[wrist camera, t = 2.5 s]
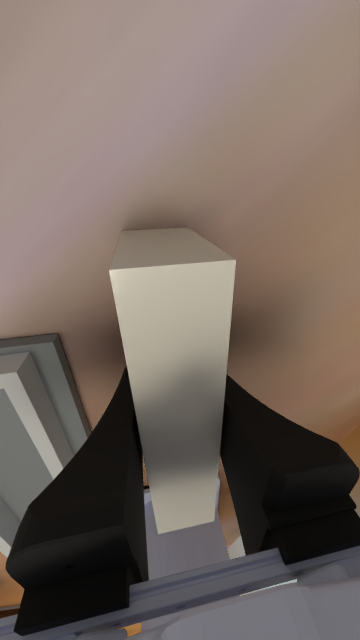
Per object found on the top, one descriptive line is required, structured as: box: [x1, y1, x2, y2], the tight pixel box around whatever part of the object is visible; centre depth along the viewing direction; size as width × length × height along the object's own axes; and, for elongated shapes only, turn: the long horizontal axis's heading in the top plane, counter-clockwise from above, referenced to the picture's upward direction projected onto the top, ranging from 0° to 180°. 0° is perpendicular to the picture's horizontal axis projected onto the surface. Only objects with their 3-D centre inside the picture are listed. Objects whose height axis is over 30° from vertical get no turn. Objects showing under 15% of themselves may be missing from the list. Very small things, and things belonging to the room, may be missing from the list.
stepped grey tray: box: [0, 334, 91, 558], centre depth 15 cm, size 18×9×2 cm, turn 2°
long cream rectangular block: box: [109, 227, 236, 534], centre depth 11 cm, size 14×3×6 cm, turn 2°
